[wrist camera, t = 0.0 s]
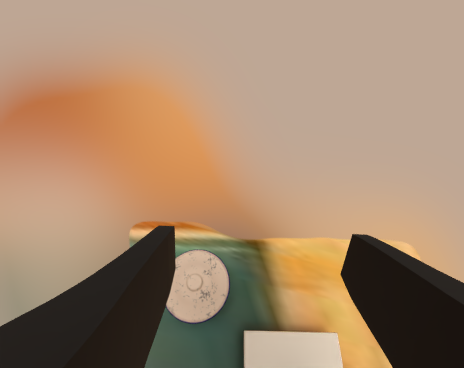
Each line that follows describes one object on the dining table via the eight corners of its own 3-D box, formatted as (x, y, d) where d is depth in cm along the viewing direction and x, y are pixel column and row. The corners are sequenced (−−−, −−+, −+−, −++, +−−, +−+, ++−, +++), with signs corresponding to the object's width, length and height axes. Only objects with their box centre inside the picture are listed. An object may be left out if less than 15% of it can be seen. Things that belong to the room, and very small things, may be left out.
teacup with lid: (226, 259, 40) (229, 243, 30) (228, 317, 35) (233, 323, 25) (158, 261, 39) (137, 246, 29) (151, 322, 34) (124, 330, 24)
